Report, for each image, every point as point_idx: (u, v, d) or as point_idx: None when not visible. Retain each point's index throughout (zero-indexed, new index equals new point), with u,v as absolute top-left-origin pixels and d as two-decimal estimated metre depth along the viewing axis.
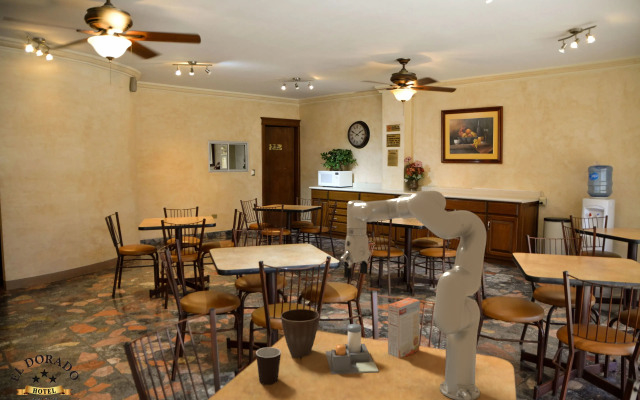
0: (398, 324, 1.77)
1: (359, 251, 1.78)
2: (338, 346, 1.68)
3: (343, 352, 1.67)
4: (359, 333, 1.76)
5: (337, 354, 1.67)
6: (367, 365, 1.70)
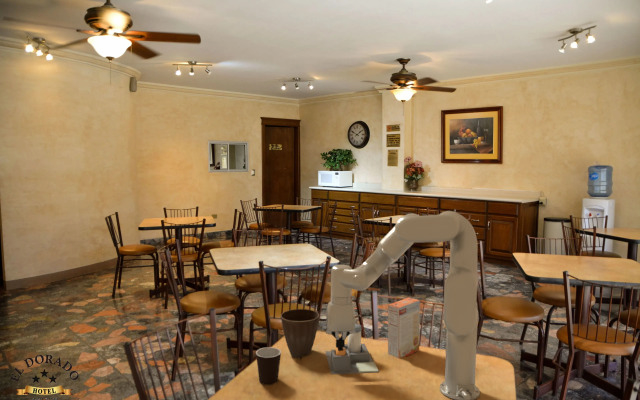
0: (398, 324, 1.77)
1: None
2: None
3: None
4: (359, 333, 1.76)
5: None
6: (367, 365, 1.70)
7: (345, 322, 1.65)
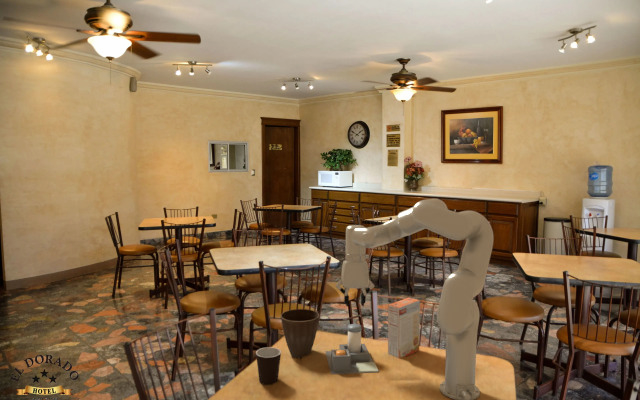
0: (398, 324, 1.77)
1: None
2: (338, 352, 1.68)
3: None
4: (359, 333, 1.76)
5: None
6: (367, 365, 1.70)
7: (360, 278, 1.74)
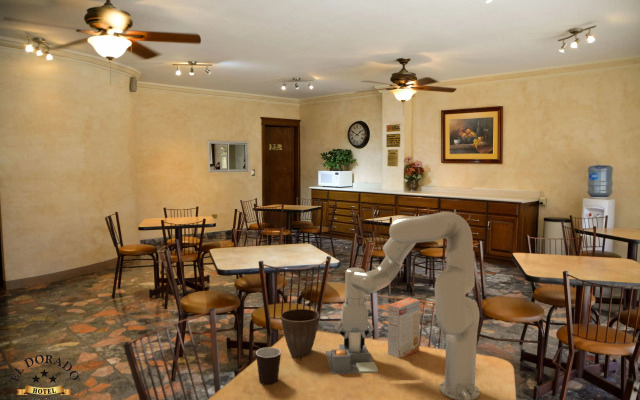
0: (398, 324, 1.77)
1: None
2: (338, 352, 1.68)
3: None
4: (359, 333, 1.76)
5: None
6: (367, 365, 1.70)
7: (359, 321, 1.75)
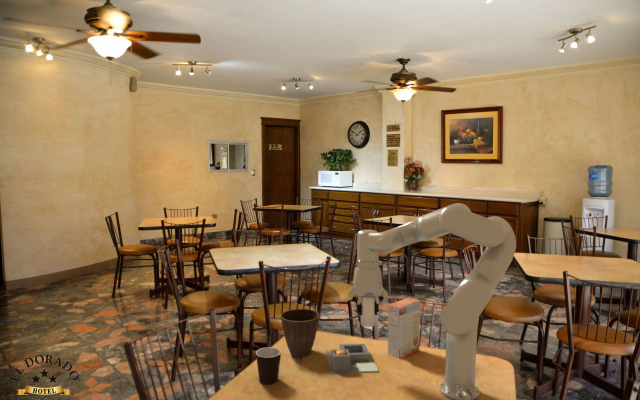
0: (398, 324, 1.77)
1: None
2: (338, 352, 1.68)
3: None
4: (373, 299, 1.65)
5: None
6: (367, 365, 1.70)
7: (373, 286, 1.64)
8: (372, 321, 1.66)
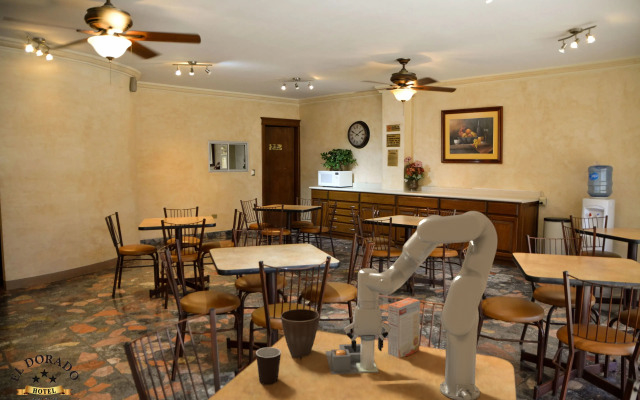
0: (398, 324, 1.77)
1: None
2: (338, 352, 1.68)
3: None
4: (373, 341, 1.66)
5: None
6: None
7: (373, 325, 1.65)
8: (371, 364, 1.67)
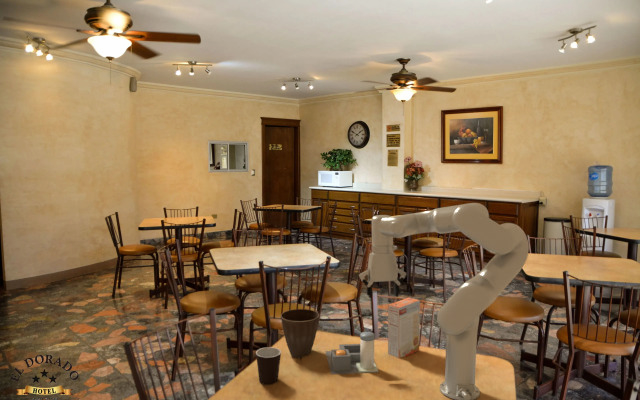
0: (398, 324, 1.77)
1: None
2: (338, 352, 1.68)
3: None
4: (372, 342, 1.66)
5: None
6: None
7: (388, 271, 1.66)
8: (371, 364, 1.67)
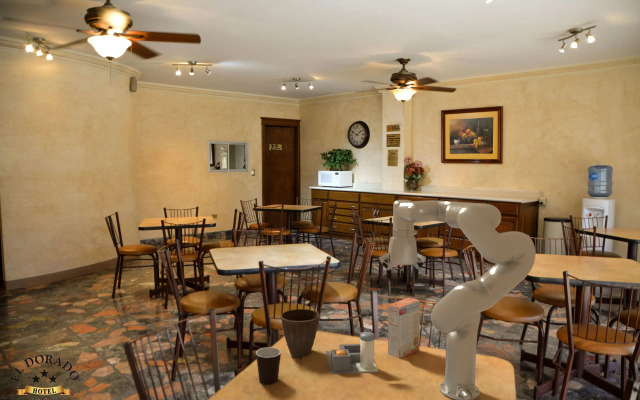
0: (398, 324, 1.77)
1: None
2: (338, 352, 1.68)
3: None
4: (372, 342, 1.66)
5: None
6: None
7: (408, 255, 1.68)
8: (371, 364, 1.66)
